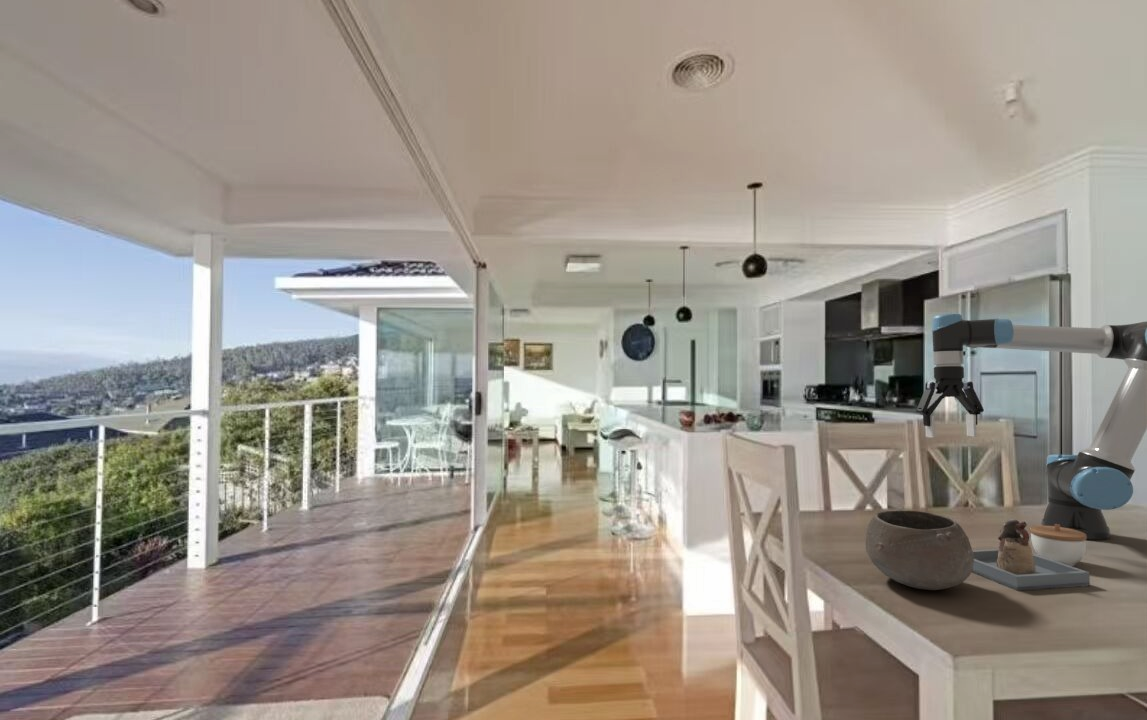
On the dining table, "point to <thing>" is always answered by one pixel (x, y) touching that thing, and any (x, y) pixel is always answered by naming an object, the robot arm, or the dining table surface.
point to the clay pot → (919, 549)
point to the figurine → (1015, 549)
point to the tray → (1044, 576)
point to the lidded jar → (1059, 543)
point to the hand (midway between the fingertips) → (951, 436)
